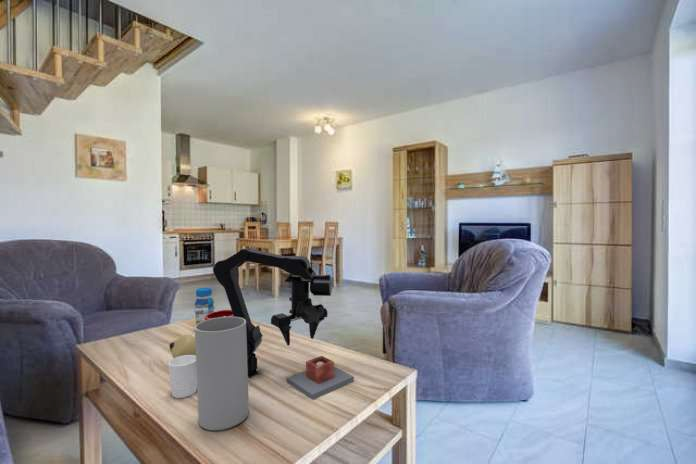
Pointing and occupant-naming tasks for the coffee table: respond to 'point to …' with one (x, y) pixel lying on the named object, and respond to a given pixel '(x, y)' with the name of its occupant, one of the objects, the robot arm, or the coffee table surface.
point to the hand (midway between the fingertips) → (300, 341)
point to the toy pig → (183, 346)
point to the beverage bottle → (203, 304)
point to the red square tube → (320, 369)
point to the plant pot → (219, 314)
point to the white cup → (183, 376)
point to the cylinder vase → (221, 372)
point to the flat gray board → (322, 388)
